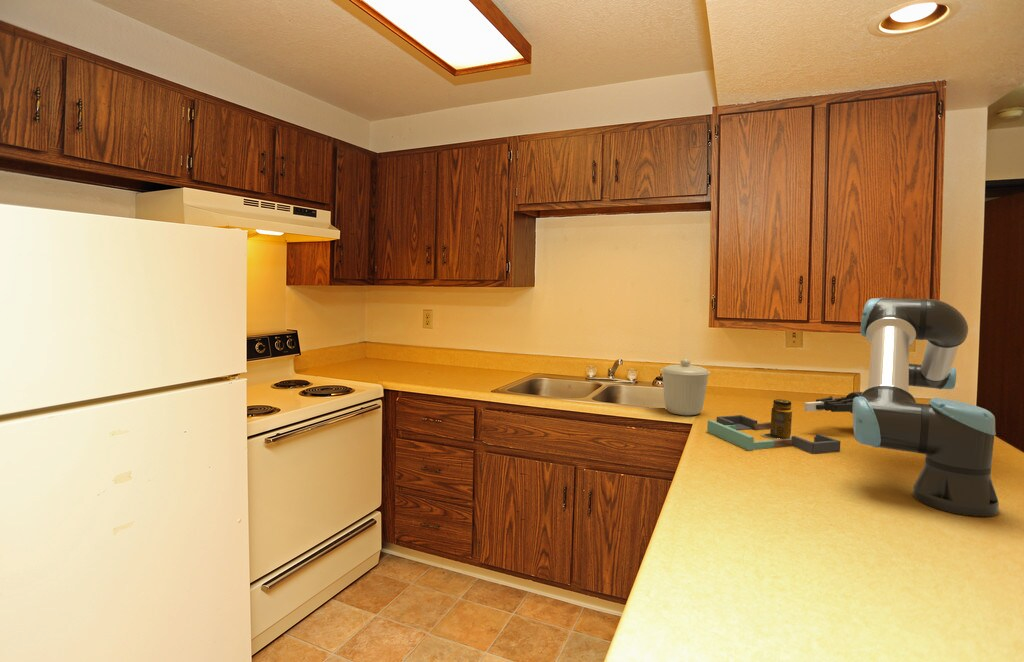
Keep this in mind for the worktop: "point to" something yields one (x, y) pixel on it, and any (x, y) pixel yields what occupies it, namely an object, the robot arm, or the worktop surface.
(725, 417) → the trap pits
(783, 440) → the lane
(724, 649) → the worktop surface
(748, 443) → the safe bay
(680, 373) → the canister
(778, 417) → the condiment
